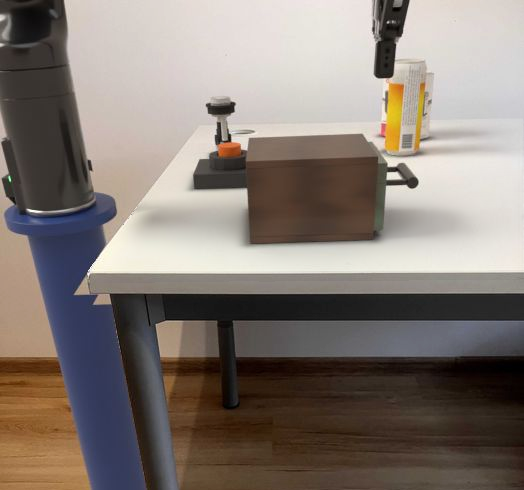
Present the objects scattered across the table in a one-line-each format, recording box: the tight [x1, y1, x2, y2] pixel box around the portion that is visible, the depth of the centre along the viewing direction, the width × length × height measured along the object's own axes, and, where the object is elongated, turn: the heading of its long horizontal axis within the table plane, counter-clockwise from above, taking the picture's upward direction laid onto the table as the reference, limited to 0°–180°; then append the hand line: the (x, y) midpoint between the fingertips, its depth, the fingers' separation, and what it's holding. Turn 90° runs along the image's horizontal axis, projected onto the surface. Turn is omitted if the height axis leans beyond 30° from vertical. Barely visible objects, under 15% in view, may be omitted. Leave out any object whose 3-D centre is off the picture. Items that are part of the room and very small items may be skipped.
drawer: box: [368, 141, 420, 231], centre depth 73 cm, size 18×11×8 cm, turn 90°
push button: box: [205, 95, 237, 152], centre depth 107 cm, size 7×5×10 cm
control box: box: [192, 148, 247, 190], centre depth 94 cm, size 11×10×4 cm
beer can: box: [384, 58, 428, 157], centre depth 103 cm, size 6×6×15 cm
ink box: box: [380, 70, 435, 140], centre depth 115 cm, size 9×5×12 cm, turn 42°
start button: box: [218, 141, 242, 157], centre depth 93 cm, size 4×4×2 cm
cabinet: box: [246, 133, 378, 245], centre depth 73 cm, size 15×13×10 cm
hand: (383, 77), depth 71 cm, fingers closed
